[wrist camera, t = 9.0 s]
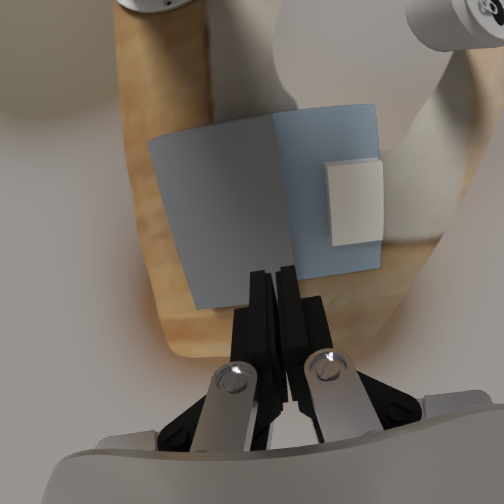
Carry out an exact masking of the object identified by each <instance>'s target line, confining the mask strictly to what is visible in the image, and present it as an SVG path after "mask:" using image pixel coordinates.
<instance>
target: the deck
mask: <svg viewBox="0 0 504 504" xmlns="http://www.w3.org/2000/svg"><path fill="white" fill-rule="evenodd" d="M147 143H148V147H149V151H150V155H151V159H152V163H153V166H154V170H155V174H156V178H157V182H158V185H159V189H160V193H161V196H162V200H163V203H164V207H165V210H166V214H167V217H168V221H169V224H170V228H171V231H172V234H173V238H174V241H175V244H176V248H177V251H178V254H179V257H180V260H181V264H182V267H183V270H184V273H185V276H186V279H187V282H188V285H189V288H190V291H191V294H192V297H193V300H194V303H195V306H196V309H197V310H199V309H209V308H219V307H228V306H237V305H246V304H249V289H250V272H253V271H259V270H265V272H266V273H271V275H272V280H273V285H274V290H275V294H276V299H277V287H276V276H275V272H277V271H281V270H280V267H283V266H289V265H294V258H293V250H292V242H291V235H290V227H289V220H288V213H287V205H286V198H285V191H284V185H283V178H282V171H281V165H280V158H279V152H278V146H277V139H276V133H275V127H274V121H273V116H272V114H271V113H270V114H263V115H257V116H251V117H245V118H239V119H233V120H228V121H223V122H218V123H213V124H208V125H203V126H198V127H194V128H189V129H185V130H181V131H177V132H173V133H168V134H165V135H161V136H158V137H156V138H154V139H151V140H149V141H147ZM277 301H278V299H277Z"/></svg>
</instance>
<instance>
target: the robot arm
mask: <svg viewBox="0 0 504 504" xmlns="http://www.w3.org/2000/svg"><path fill="white" fill-rule="evenodd" d="M116 1H117V2H118V3H119V4H121V5H122V6H124V7H126V8H128V9H130V10H132V11H135V12H140V13H161V12H166V11H170V10H174V9H176V8H179V7H181V6H184V5H186V4H188V3H189V2H191V1H193V0H116ZM170 2H172V3H171V4H170V5H169V6H168V4H169V3H170ZM280 270H281V271H277V272H275V276H276V287H277V299H278V304H277V299H276V294H275V290H274V285H273V280H272V275H271V273H266V272H265V270H259V271H253V272H250V289H249V307H245V308H238V309H235V310H234V319H233V331H232V344H231V357H230V362H229V363H227V364H224V365H223V366H221V367H219V368H218V369H217V370H216V371H215V373H214V375H213V376H212V379H211V382H210V385H209V389H208V392H207V394H206V395H205V396H204V397H203V398H201V399H200V400H199V401H198V402H196V403H195V404H194V405H193V406H191V407H190V408H189V409H187V410H186V411H185V412H184V413H182V414H181V415H180V416H178V417H177V418H176V419H174V420H173V421H172V422H171V423H169V424H168V425H167V426H165V428H163V429H162V430H161V431H160V432H156V431H154V430H150V431H144V432H138V433H131V434H125V435H118V436H109V437H106V438H103V439H102V440H101V441H99V443H98V444H97V446H96V448H95V449H90V450H85V451H80V452H77V453H74V454H71V455H69V456H67V457H65V458H63V459H62V460H61V461H59V463H58V464H57V465H56V467H55V468H54V470H53V472H52V474H51V476H50V479H49V481H48V483H47V486H46V489H45V492H44V495H43V499H42V502H41V504H504V404H496V403H495V404H494V403H492V400H491V398H490V396H489V395H488V394H487V393H485V392H484V391H481V390H469V391H462V392H454V393H445V394H436V395H425V396H424V398H423V399H415V398H414V397H412V396H410V395H408V394H406V393H404V392H402V391H399V390H397V389H395V388H393V387H391V386H388V385H386V384H384V383H382V382H380V381H378V380H375V379H373V378H371V377H369V376H367V375H365V374H363V373H361V372H358V371H356V369H355V367H354V365H353V363H352V361H351V359H350V357H349V356H348V355H347V354H346V353H344V352H343V351H341V350H338V349H335V348H333V344H332V340H331V335H330V331H329V327H328V323H327V319H326V315H325V311H324V307H323V303H322V299H321V296H314V297H308V298H302V299H301V298H300V292H299V286H298V281H297V275H296V270H295V265H289V266H283V267H280ZM286 372H287V376H288V381H289V385H290V390H291V395H292V400H293V401H298V405H299V411H300V412H302V413H303V414H305V415H306V416H308V417H310V418H311V422H312V426H313V429H314V432H315V435H316V439H317V442H318V444H314V445H307V446H300V447H292V448H283V449H273V450H270V445H271V440H272V432H273V421H274V420H275V418H276V417H278V416H279V415H280V414H281V411H283V403H285V402H288V391H287V378H286Z"/></svg>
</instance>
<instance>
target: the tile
mask: <svg viewBox="0 0 504 504" xmlns="http://www.w3.org/2000/svg"><path fill="white" fill-rule="evenodd" d="M323 163H324V174H325V185H326V197H327V210H328V224H329V239H330V241H331V244H332V246H339V245H347V244H354V243H362V242H370V241H377V240H383V225H384V186H383V162H382V161H381V160H379V159H378V158H365V159H353V160H342V161H331V162H323Z"/></svg>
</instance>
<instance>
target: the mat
mask: <svg viewBox="0 0 504 504" xmlns="http://www.w3.org/2000/svg"><path fill="white" fill-rule="evenodd" d="M271 114H272V116H273V121H274V127H275V133H276V139H277V146H278V152H279V158H280V165H281V171H282V178H283V185H284V191H285V198H286V205H287V213H288V220H289V227H290V235H291V242H292V250H293V258H294V265H295V270H296V275H297V280H303V279H310V278H317V277H324V276H331V275H338V274H345V273H351V272H358V271H364V270H371V269H377V268H380V264H381V240H377V241H370V242H362V243H354V244H347V245H339V246H332V244H331V241H330V239H329V224H328V210H327V197H326V185H325V174H324V163H323V162H331V161H342V160H353V159H365V158H378V159H379V160H380V156H379V142H378V130H377V119H376V110H375V104H360V105H344V106H331V107H320V108H310V109H300V110H292V111H284V112H277V113H271Z"/></svg>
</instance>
